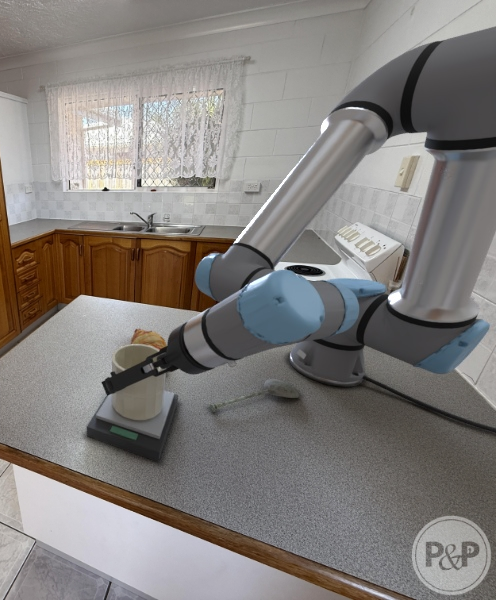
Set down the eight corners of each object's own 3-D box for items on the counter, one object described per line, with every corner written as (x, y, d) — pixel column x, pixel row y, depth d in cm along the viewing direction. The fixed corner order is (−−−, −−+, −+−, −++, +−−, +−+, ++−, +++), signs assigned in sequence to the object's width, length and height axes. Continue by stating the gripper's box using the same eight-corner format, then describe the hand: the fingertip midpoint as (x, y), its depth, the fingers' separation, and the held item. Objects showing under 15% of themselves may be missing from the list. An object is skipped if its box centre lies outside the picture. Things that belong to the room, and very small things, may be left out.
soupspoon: (305, 401, 68) (280, 384, 74) (309, 388, 67) (283, 372, 73) (220, 421, 62) (201, 401, 68) (223, 407, 61) (203, 388, 67)
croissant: (172, 390, 77) (190, 364, 74) (139, 379, 73) (156, 352, 71) (144, 344, 96) (157, 323, 93) (116, 334, 92) (129, 312, 90)
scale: (177, 403, 67) (178, 391, 66) (158, 462, 54) (159, 448, 53) (117, 386, 73) (117, 375, 72) (86, 436, 60) (86, 423, 58)
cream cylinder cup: (167, 395, 65) (171, 350, 61) (154, 429, 57) (158, 380, 53) (122, 382, 69) (123, 339, 65) (103, 412, 61) (103, 365, 57)
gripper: (148, 402, 37) (87, 420, 55) (267, 341, 50) (186, 372, 67) (122, 344, 39) (71, 379, 57) (242, 300, 52) (170, 340, 69)
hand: (133, 375), depth 62 cm, fingers open, 13 cm apart
